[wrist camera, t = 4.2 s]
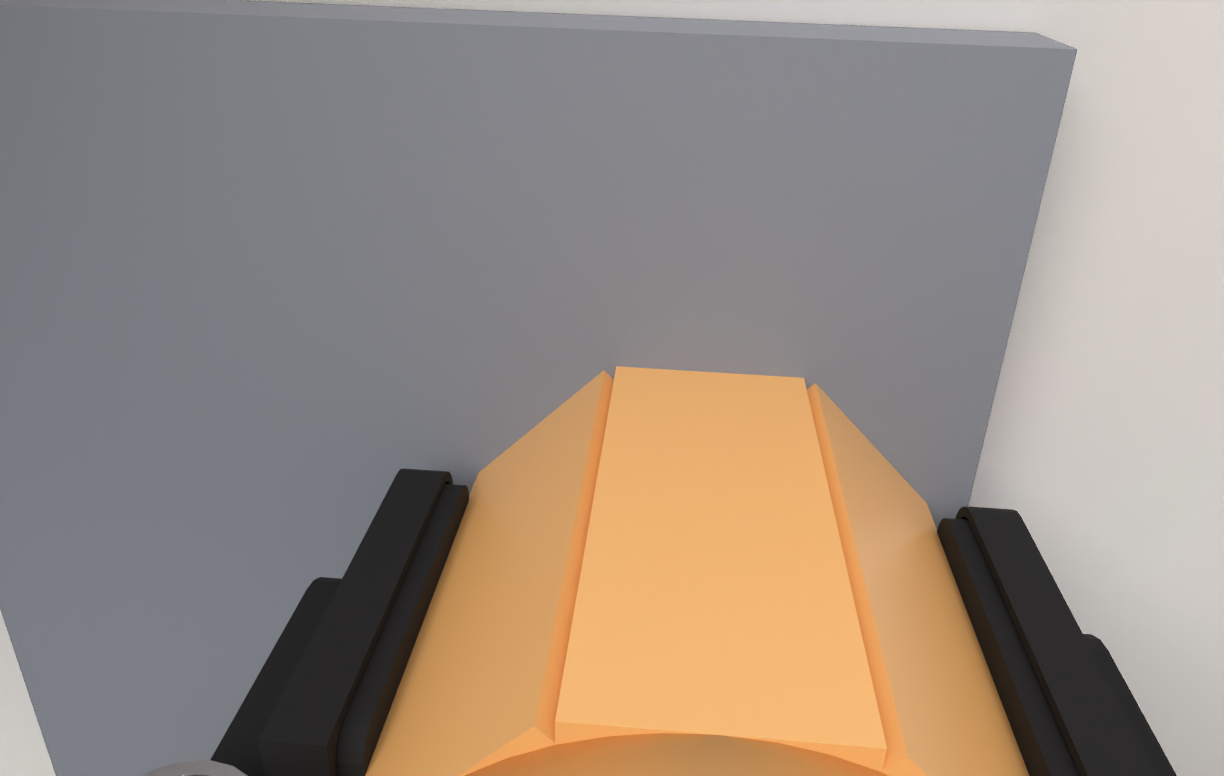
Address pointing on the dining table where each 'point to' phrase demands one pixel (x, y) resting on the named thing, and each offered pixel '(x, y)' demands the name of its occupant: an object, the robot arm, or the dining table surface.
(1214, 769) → the dining table surface
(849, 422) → the orange dome-topped faceted piece
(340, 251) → the board
